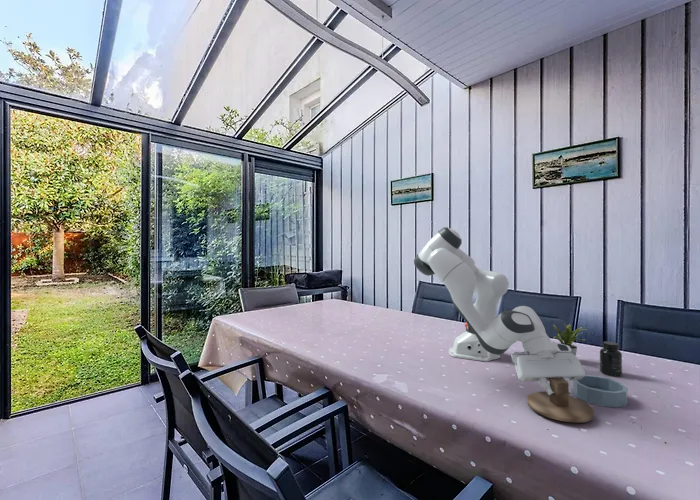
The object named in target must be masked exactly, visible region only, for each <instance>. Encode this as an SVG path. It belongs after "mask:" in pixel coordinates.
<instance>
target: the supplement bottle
mask: <svg viewBox="0 0 700 500" xmlns="http://www.w3.org/2000/svg"><path fill="white" fill-rule="evenodd" d="M619 349H620V346H619V343H618V342H613V341H607V340H606V341H603V342H602V348H601V349H600V350H599V372H600V373H601V374H602V375H605V376H609V377H617V378H619V377H621V376H622V375H623V353H622V352H621V351H620V350H619Z"/></svg>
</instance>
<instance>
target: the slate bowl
mask: <svg viewBox="0 0 700 500" xmlns="http://www.w3.org/2000/svg"><path fill="white" fill-rule="evenodd" d="M628 391H629V390H628V387H627V386H626V385H624V384H623V383H622V382H619V381H617V380H614V379H612V378H609V377H604V376H598V375H592V374H591V375H590V374H585V376H584V377H583V378H582V379H580V380H572V393H573V394H574V395H575V396H576V398H578V399H580V400H582V401H584V402H586V403H590V404H593V405H597V406H601V407H608V408H622V407H626V406H627V404H628V403H629V401H628V398H629V397H628V394H629V393H628Z"/></svg>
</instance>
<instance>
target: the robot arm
mask: <svg viewBox="0 0 700 500" xmlns="http://www.w3.org/2000/svg"><path fill="white" fill-rule="evenodd" d="M462 243H463V241H462V238H461V236H460V234H459V232H457V231H456V230H455V229H452V228H450V227H442V228H441V229H439V230H438V231H437V233H436V234H434V236H432V237H431V238H430V239H429V240H428V241H427V243H426V244H425V245H424V246H423V248H422V249H420V251H419V252H418V254H416V255H415V257H414V259H413V264H414V266H415V268H416V269H417V271H418V273H421V274H423V275H425V276H427V277H428V276H433V275H435V276H436V277H437V278H438V279H439V280H440V282H442V283H443V284H444V286H445V288H447V290H448V292H449V294H450V297H451V302H452V304H453V306H454V307H455V309H456V310H457V312H458V313H459V314H460V316H461V318H462V319H463V320H464V321H465V323H464V327H465V331H464V332H463V333H461V334H460V335H458V336H456V338H455V339H454V341H453V346H450V347H449V349H448V354H449V356H451V357H452V358H458V359H465V360H473V361H482V362H490V361H493V360H499V359H500V358H501V355H504V354H505V353H506V352H507V351H508V350H509V349H510V347H511V346H512V345H514V344H515V343H517V342H521V344H522V345H521V346H522V348H523V350H524V351H521V352H520V351H515V352H514V353H512V354H511V356H510V357H511V360H512V361H511V362H512V363H513V364H514V368H515V372H516V374H517V379H519V380H520V381H521V382H523V383H525V382H538V383H539V385H540V386H541V387H542V388H543V389H545V392H547V393H548V395H554V394H555V391H554V388H553V387H550V384H548V383H547V382H550V379H557V378H561V379H562V380H564V381H566V382H568V386H569V395H571V394H572V393H573V391H572V389H571V387H570V386H571V385H570V384H571V381H573V380H580V379H582V378H583V377H584V376H585V375H586V371H585V369H584V367H583V365H582V363H581V362H580V360H579V359H578V357H577V356H575V355H574V354H572V353H571V351H572V349H571V348H570V346H568V345H564V344H565V343H564V344H561V342H556V341H553V340H551V338H550V337H549V336H548V334H547V332H546V329H545V325H544V324H543V322H542V320H541V319H540V317H539V315H538V314H537V313H536V311H535V310H534V309H533V308H532V307H529V306H527V305H519V306H516V307H515V308H513V309H512V310H509V309H506V310H504V311H502V312H500V313H499V314H498V315H497V308H498V304H499V302H500V300H501V298H502V297H503V296H504V295H505V294H506V293H507V291H508V290H509V286H510V283H509V279H508V277H507V276H506V275H504V274H502V273H500V272H497V271H493V270H483V269H481V268H479V267H477V266H476V264H475V263H476V262H475V261H474V259H473V258H472V257H471V256H470V255H468V254H467V253H466V252H464V251H463V250H462V249H460V247H461V245H462ZM474 294H477V296H476V300H475V302H474V303H473V301H474V300H473V299H474V298H473V296H474Z"/></svg>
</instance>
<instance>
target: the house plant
mask: <svg viewBox="0 0 700 500" xmlns="http://www.w3.org/2000/svg"><path fill="white" fill-rule="evenodd" d="M563 325H564V327H565V329H564V330H563V331H561V330H560V328H558V327H557V326H556V325H555V324H552V326H553V327H554V330H555V331H556V332H557V336H553V337H552V338H553V339H556V340H558V341H559V343H560V344H564V345H568V346H570V348H571V349H572V351H571V353H572V354H574V355H575V356H576V355H577V350H578V347H577V346H576V345H575V344H577V343H578V342H579V341H581V342H582V341H583V342H584V341H585V340H586V339H585V338H584V339H580V338H577V336H579V335H581V332H580V331H588V329H585V328H584V327H583V326H582V327H578V328H576V329H575V330H572V326H571V324H570V322H569V323H568V324H567V325H566V323H563ZM583 328H584V329H583ZM574 342H575V343H574ZM573 343H574V344H573ZM576 357H577V356H576Z"/></svg>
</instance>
